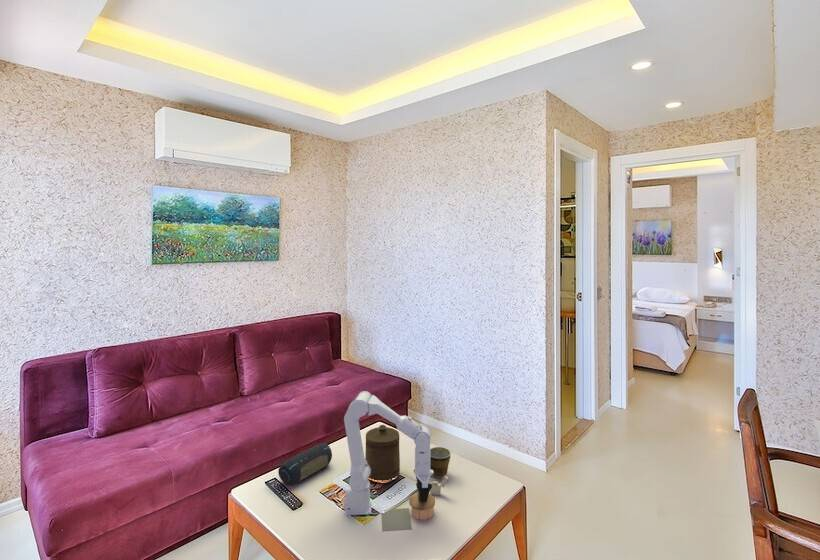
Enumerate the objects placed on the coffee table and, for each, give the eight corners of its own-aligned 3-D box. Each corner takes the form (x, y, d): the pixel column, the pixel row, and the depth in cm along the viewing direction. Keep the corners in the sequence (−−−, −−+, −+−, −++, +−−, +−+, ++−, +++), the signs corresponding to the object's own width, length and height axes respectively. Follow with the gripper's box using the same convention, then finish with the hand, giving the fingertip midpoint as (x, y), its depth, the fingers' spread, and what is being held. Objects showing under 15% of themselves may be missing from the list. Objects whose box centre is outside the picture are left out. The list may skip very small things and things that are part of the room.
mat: (382, 532, 146) (382, 531, 146) (381, 510, 158) (381, 509, 158) (411, 530, 147) (411, 529, 147) (408, 509, 159) (408, 508, 159)
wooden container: (388, 462, 193) (388, 415, 191) (406, 477, 181) (406, 427, 179) (359, 471, 185) (359, 423, 183) (375, 488, 172) (375, 436, 171)
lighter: (429, 495, 168) (430, 476, 167) (430, 492, 169) (430, 473, 169) (447, 496, 166) (447, 477, 166) (447, 494, 168) (448, 475, 167)
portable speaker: (291, 491, 170) (290, 468, 169) (276, 483, 176) (275, 460, 175) (336, 465, 190) (336, 444, 189) (321, 458, 196) (320, 438, 195)
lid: (410, 511, 151) (410, 498, 150) (408, 495, 160) (408, 483, 160) (437, 509, 152) (437, 496, 151) (433, 493, 161) (433, 481, 161)
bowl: (412, 521, 152) (412, 509, 151) (410, 507, 160) (410, 496, 159) (434, 520, 153) (434, 508, 152) (431, 506, 161) (431, 495, 160)
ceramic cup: (450, 469, 187) (450, 447, 186) (450, 481, 177) (450, 458, 176) (421, 467, 188) (421, 446, 188) (419, 479, 178) (420, 457, 178)
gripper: (436, 470, 148) (436, 506, 149) (430, 450, 162) (430, 483, 163) (416, 471, 147) (416, 508, 148) (412, 450, 161) (412, 484, 163)
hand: (422, 495), depth 156 cm, fingers open, 7 cm apart
